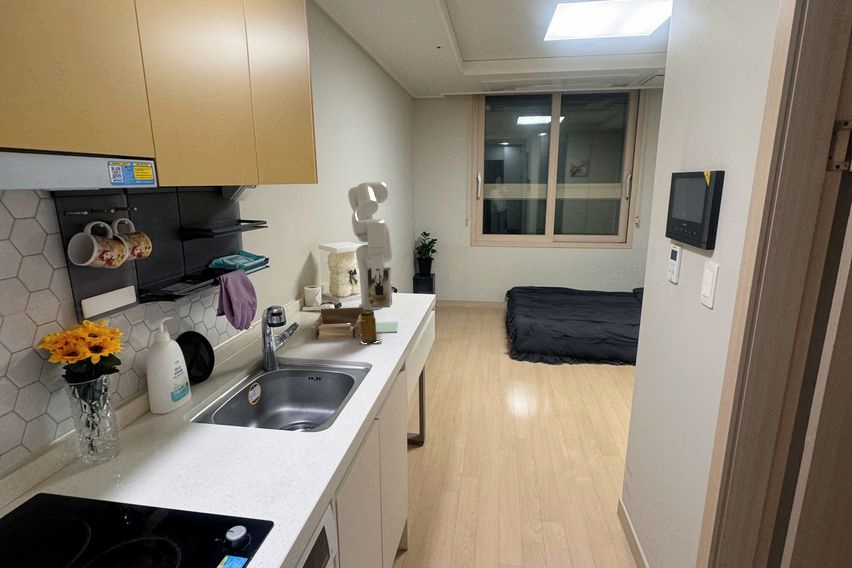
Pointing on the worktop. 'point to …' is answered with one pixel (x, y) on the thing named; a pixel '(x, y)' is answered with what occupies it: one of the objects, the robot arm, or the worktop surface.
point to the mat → (386, 327)
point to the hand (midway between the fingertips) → (380, 292)
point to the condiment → (368, 327)
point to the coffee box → (386, 298)
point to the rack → (338, 319)
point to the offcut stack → (336, 331)
